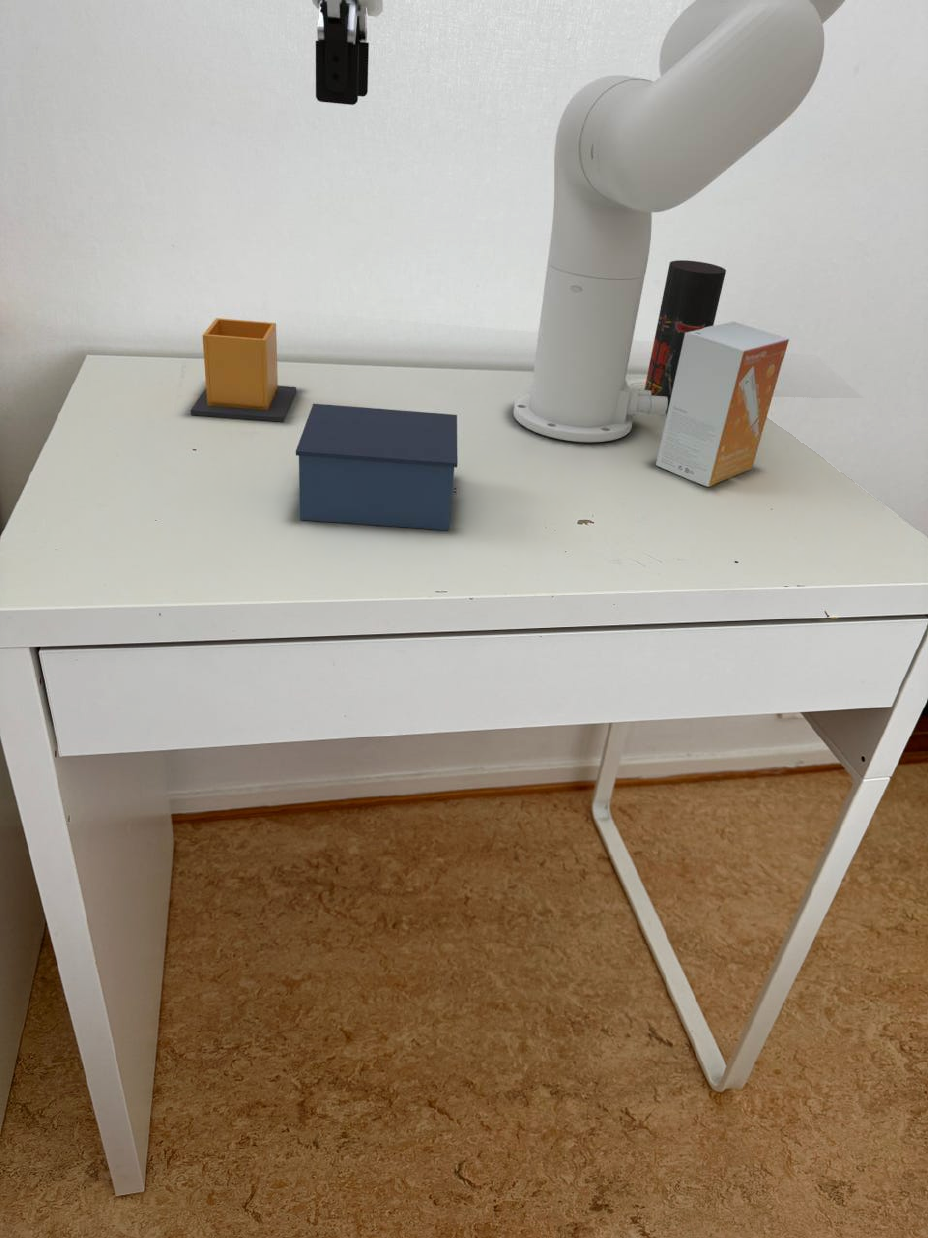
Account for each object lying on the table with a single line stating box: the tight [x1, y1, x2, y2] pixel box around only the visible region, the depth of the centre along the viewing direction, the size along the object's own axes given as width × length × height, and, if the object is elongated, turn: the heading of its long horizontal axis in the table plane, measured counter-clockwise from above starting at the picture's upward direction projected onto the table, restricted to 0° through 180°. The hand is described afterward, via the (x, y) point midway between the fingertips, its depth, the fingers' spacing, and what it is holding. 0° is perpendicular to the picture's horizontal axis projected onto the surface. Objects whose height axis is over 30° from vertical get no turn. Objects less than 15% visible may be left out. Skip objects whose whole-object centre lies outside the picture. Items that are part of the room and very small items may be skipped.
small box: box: [655, 321, 790, 488], centre depth 86 cm, size 8×6×13 cm
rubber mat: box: [190, 385, 297, 423], centre depth 93 cm, size 9×9×1 cm
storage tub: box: [295, 403, 458, 531], centre depth 76 cm, size 12×10×6 cm
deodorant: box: [643, 259, 727, 413], centre depth 100 cm, size 6×6×15 cm
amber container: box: [201, 317, 279, 410], centre depth 91 cm, size 6×6×7 cm
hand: (343, 98), depth 75 cm, fingers open, 9 cm apart
